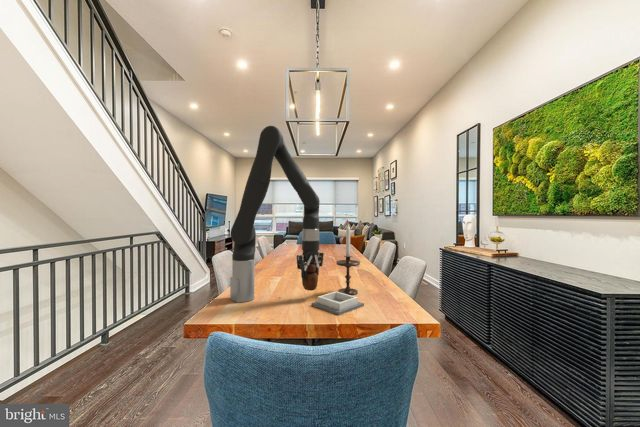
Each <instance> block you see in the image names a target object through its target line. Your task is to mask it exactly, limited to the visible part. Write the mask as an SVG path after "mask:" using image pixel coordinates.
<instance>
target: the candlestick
mask: <svg viewBox="0 0 640 427" xmlns="http://www.w3.org/2000/svg"><path fill="white" fill-rule="evenodd" d="M346 223H347V227H345V235H346V236H345V255H344V256H343V257H344V258H345V259H339V260H336V262H335V263H336V265H337V266H340V267H345V268H346V274H345V275H344V278H345V282H344V283H345V285H346V286H345V287H344V288H339V289H338V290H337V292H340V293H344V294H347V295H351V296H355V295H357V294H358V292H359V291H358V290H357V289H356V288H351V286H350V284H351V281H350V279H351V278H352V276H351V275H350V268H351V267H357V266H360V265H361V264H360V261H359V260H355V259H351V258H352V257H353V255H351V227H350V222H349V219H348V218H346Z"/></svg>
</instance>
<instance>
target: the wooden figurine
mask: <svg viewBox="0 0 640 427" xmlns="http://www.w3.org/2000/svg"><path fill="white" fill-rule="evenodd" d="M306 271H307V278H306V279H302V278H301V284H302V287H303V289H304V290H306V291H309V292H310V291H315V290H317V287H318V282H319V275H317V274H316V273H315V271H316V266H315V259H314V261H313V262H312V263H309V266H308V267H307V269H306Z"/></svg>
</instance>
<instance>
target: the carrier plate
mask: <svg viewBox="0 0 640 427" xmlns="http://www.w3.org/2000/svg"><path fill="white" fill-rule="evenodd" d="M311 306H312V307H314V308H317V309H320V310H323V311H325V312H329V313H331V314H334V315H337V316H341V315H344V314H347V313H349V312H352V311H354V310H357V309H359V308H363V307H364V306H365V303H364V302H361V301H359V297H358V296H355V295H347V294H344V293H340V292H338V290H337V291H332V292H329V293H326V294H323V295H319V296H317V301H313V302H311Z"/></svg>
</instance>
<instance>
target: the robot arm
mask: <svg viewBox="0 0 640 427" xmlns="http://www.w3.org/2000/svg"><path fill="white" fill-rule="evenodd" d="M274 158H275V159H276V161H277V162H278V164H279V165H280V167H281V169H282V171H283V173H284V174H285V177H286V178H287V180H288V181H289V183H290V185H291V186H292V188H293V190H294V191H295V192H296V193H297V196H298V198H299V199H300V200H301V201H300V202H302V205H303V218H302V233H301V250H302V253H301V254H297V255H296V266H297V270H301V271H300V274H301V275H300V276H301V280H302V279H306V278H307V271H306V269H307V267H308V266H309V263H312V262H313V261H314V259H315V266H316V271H315V273H316V274H317V275H318V276H319V272H320V267H323V265H324V264H323V263H324V262H323V261H324V256H325V255H324V252H321V251H320V218H319V216H320V215H319V214H320V203H321V202H320V198H319V196H318V194H317V192H316V191H315V190H314V188H313V187H312V185H311V184H310V182H309V180H308V179H307V177H306V175H305V174H304V172H303V171H302V168H300V166H299V164H298V163H297V162H296V161H295V159H294V158H293V157H292V155H291V153H290V152H289V150H288V147H287V145H286V143H285V141H284V136H283V134H282V132H281V130H280V129H279V128H278V127H276V126H274V125H267V126H266V127H264V128H263V129H262V130H261V132H260V135H259V139H258V145H257V149H256V154H255V157H254V160H253V163H252V165H251V168H250V172H249V175H248V177H247V181H246V183H245V187H244V190H243V194H242V198H241V203H240V206H239V210H238V213H237V215H236V218H235V220H234V222H233V224H232V227H231V229H230V238H231V240H232V242H234V247H233V250H232V258H231V260H232V262H231V263H232V264H231V265H232V268H231V269H232V270H231V271H232V275H231V277H230V278H229V280H230V281H229V282H230V300H231V301H233V302H235V303H246V302H250V301H253V300H254V299H255V254H256V240H257V238H256V236H257V235H256V229H255V226H254V224H255V220H256V218H257V214H258V212H259V209H260V208H261V206H262V205H263V202H264V201H265V198H266V196H267V192H268V190H269V187H270V182H271V176H272V168H273V162H274Z"/></svg>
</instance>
